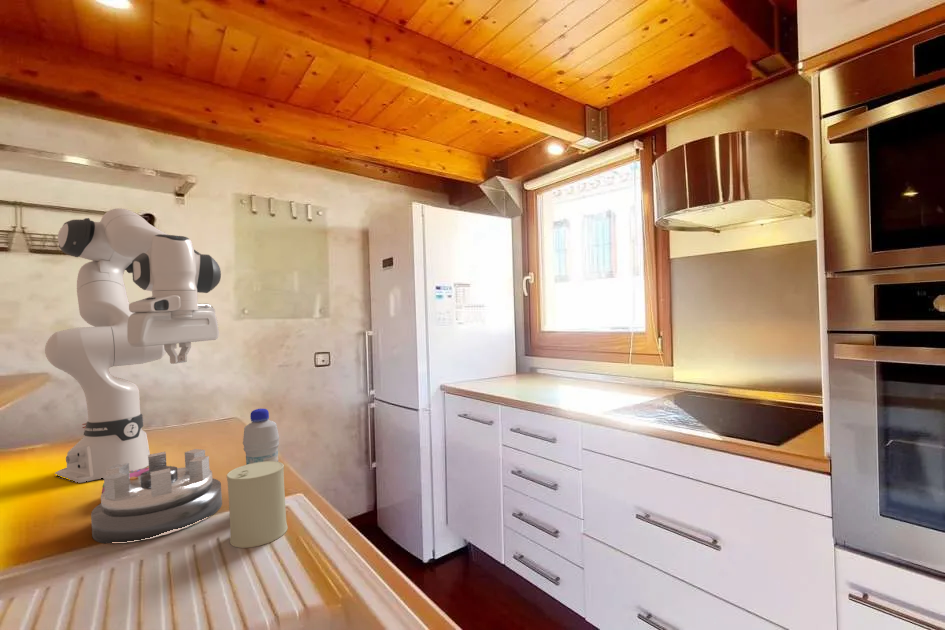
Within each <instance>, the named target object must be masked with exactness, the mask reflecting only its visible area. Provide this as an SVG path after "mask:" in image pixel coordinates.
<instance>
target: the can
mask: <svg viewBox="0 0 945 630" xmlns="http://www.w3.org/2000/svg"><path fill="white" fill-rule="evenodd" d="M284 467H285V465H284V463H282V462H281V461H278V462H277V461H265V462H257V463H252V464H247V465H246V464H245V465H241V466H238V467H236V468H233V469H232V470H230V471H229V472H227V474H226V482H227V493H228V506H229V507H228V509H229V529H230V531H229V532H230V535H229V537H230V538H229V543H230V545H231V546H233V547H235V548H241V549H246V548H247V549H248V548H256V547H259V546H263V545H267V544H270V543H272V542H274V541H276V540H278V539H280V538H281V537H283V536H284V535H285V534H286V533H287V532H288V524H287V512H286V511H287V510H286V495H285V494H286V493H285V491H286V490H285V473H284V470H285V469H284Z"/></svg>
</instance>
